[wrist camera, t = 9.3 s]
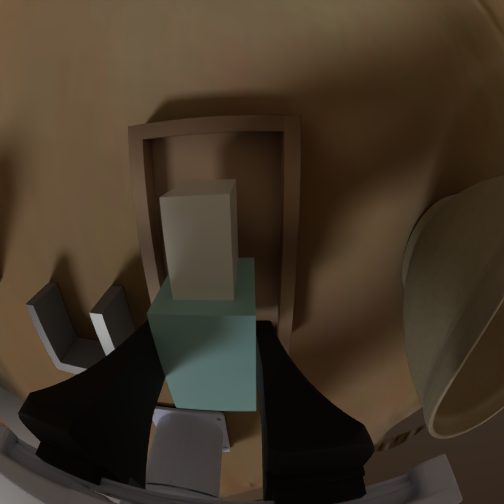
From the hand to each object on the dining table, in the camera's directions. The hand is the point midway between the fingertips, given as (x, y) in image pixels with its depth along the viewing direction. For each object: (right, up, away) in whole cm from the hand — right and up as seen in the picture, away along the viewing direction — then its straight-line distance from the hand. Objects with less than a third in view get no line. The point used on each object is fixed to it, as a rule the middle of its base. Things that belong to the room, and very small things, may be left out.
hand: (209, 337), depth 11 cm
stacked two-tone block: (0, +3, +3) cm, 4 cm away
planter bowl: (+17, +4, +6) cm, 18 cm away
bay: (-11, -1, +7) cm, 13 cm away
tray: (0, +4, +5) cm, 7 cm away
